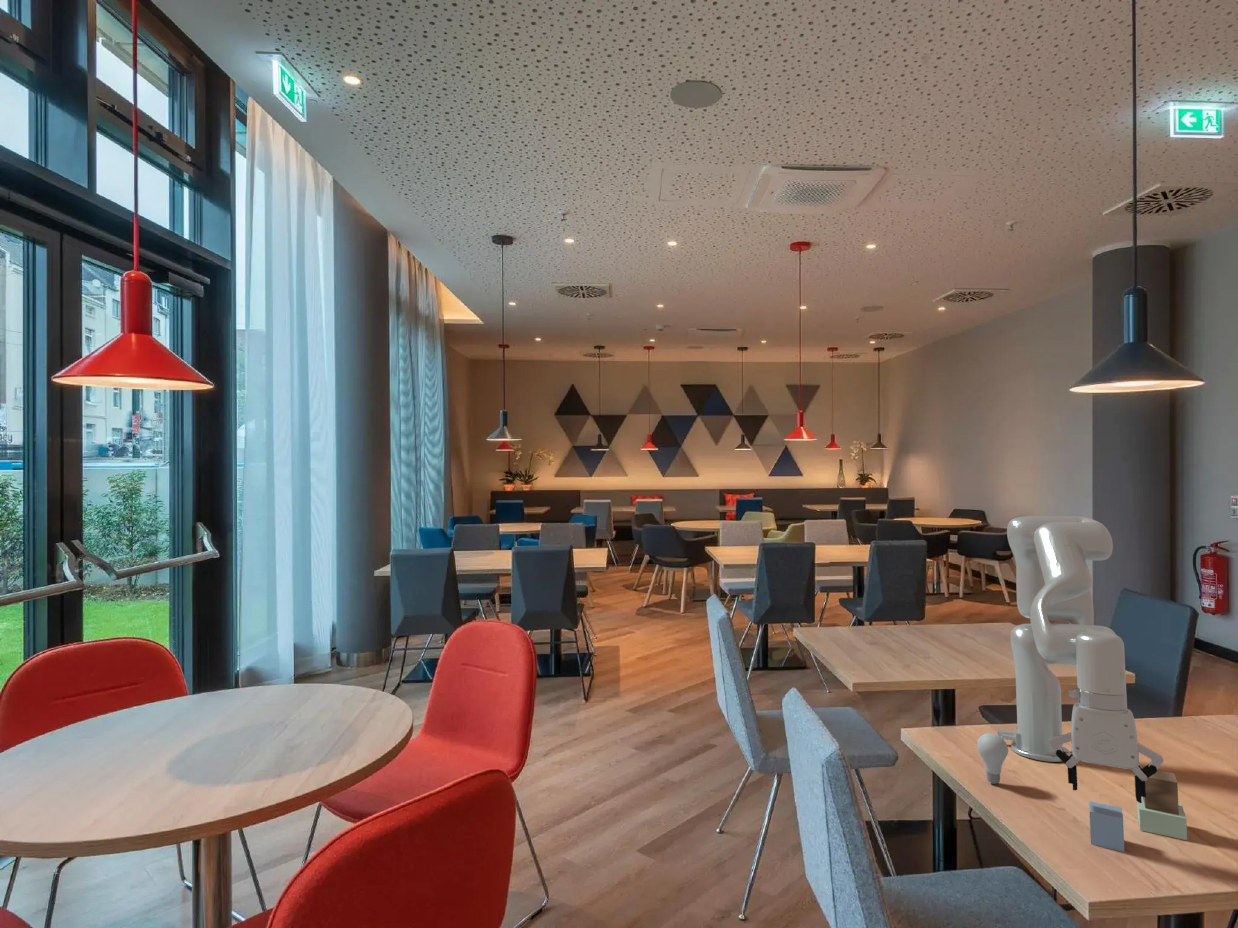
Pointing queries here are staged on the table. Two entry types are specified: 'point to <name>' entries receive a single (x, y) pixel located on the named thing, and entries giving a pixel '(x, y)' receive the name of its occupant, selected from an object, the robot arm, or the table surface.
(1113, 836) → the slate block
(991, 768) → the lightbulb
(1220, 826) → the table surface
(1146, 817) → the base brick
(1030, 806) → the table surface
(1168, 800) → the walnut block
